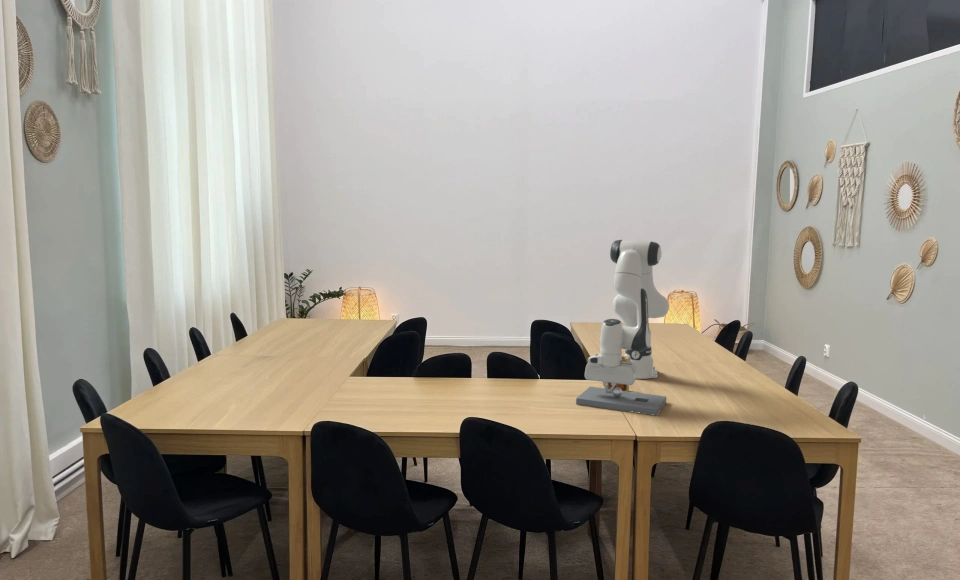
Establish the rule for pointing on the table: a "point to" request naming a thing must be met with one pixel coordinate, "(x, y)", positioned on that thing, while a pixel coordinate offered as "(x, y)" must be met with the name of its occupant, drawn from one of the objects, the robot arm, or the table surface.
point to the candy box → (622, 386)
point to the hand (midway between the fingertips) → (608, 392)
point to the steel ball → (617, 392)
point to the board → (622, 401)
